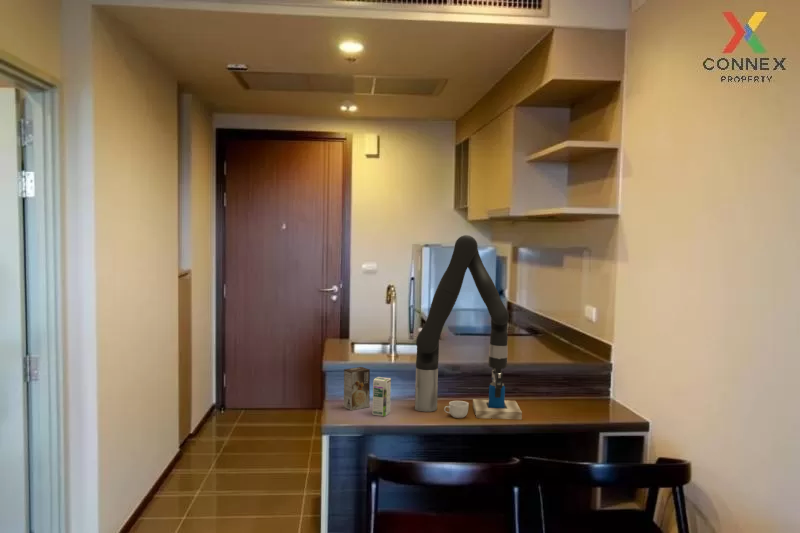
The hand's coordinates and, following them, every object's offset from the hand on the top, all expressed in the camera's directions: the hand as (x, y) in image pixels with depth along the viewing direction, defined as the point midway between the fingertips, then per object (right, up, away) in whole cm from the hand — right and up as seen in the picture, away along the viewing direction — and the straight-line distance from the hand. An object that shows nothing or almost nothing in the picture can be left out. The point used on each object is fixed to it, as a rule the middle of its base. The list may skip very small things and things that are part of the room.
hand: (496, 394), depth 238 cm
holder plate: (0, -8, 0) cm, 8 cm away
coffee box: (-58, -6, +4) cm, 58 cm away
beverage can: (0, -8, 0) cm, 8 cm away
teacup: (-17, -8, -6) cm, 20 cm away
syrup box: (-47, -7, -5) cm, 48 cm away
